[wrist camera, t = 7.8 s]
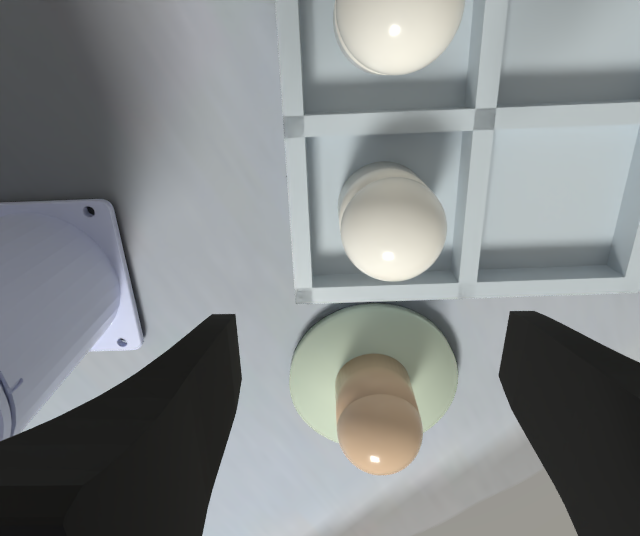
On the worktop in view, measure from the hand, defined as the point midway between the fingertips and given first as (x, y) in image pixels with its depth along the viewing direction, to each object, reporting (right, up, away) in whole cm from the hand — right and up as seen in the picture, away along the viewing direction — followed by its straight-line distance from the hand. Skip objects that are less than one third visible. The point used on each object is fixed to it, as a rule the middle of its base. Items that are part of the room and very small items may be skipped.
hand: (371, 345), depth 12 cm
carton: (+5, +9, +7) cm, 12 cm away
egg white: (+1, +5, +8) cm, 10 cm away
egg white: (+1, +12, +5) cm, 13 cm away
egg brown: (+1, -4, +12) cm, 13 cm away
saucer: (+1, -4, +13) cm, 13 cm away
